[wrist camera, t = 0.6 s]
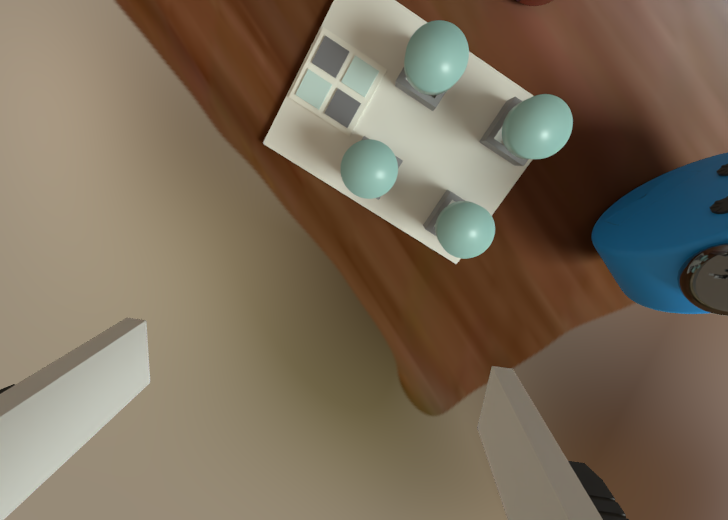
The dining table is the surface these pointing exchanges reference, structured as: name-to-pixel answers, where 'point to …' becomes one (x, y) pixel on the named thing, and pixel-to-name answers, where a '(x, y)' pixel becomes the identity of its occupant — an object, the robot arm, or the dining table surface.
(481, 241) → the button
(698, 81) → the dining table surface
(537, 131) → the button
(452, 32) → the button
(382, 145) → the button
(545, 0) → the beverage can
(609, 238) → the alarm clock
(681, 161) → the dining table surface
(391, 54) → the board
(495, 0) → the dining table surface
